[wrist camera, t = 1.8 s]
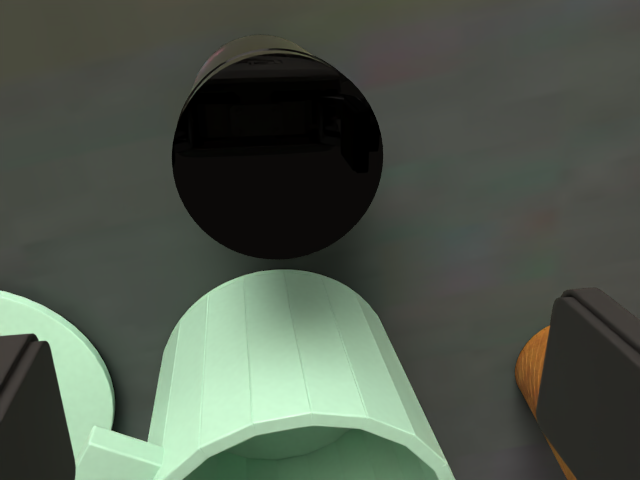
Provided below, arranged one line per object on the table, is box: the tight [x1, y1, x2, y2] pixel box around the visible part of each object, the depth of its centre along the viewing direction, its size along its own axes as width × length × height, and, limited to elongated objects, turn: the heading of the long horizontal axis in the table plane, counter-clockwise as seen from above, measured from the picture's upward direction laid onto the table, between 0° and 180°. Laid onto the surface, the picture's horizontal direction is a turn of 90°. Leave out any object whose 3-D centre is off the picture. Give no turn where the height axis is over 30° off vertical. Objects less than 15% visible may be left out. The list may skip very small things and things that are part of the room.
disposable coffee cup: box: [515, 325, 577, 480], centre depth 31 cm, size 10×10×12 cm
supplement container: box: [172, 35, 383, 259], centre depth 23 cm, size 7×7×10 cm
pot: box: [75, 269, 455, 480], centre depth 28 cm, size 13×19×12 cm
